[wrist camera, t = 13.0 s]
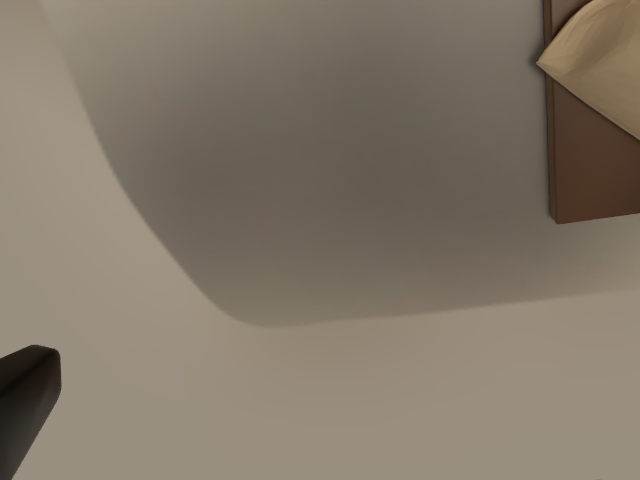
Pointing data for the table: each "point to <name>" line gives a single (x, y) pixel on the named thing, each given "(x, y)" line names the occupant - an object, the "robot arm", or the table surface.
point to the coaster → (586, 147)
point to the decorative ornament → (601, 59)
